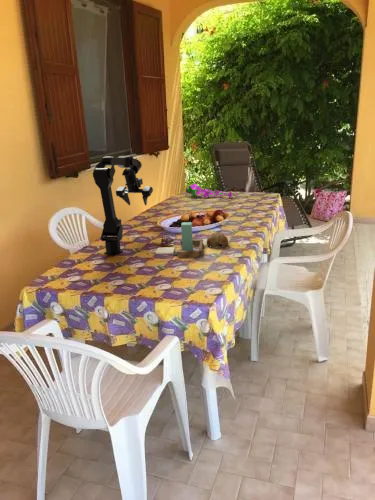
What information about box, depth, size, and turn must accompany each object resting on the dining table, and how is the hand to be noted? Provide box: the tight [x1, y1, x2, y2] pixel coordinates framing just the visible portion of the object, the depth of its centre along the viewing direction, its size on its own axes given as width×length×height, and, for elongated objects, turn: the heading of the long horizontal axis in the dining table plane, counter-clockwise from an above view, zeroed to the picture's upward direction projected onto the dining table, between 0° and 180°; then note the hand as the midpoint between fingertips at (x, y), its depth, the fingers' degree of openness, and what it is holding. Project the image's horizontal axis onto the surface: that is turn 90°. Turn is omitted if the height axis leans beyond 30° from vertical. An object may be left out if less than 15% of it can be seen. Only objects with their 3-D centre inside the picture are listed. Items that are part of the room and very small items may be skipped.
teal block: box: [180, 221, 194, 251], centre depth 197 cm, size 4×4×13 cm
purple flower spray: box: [185, 182, 233, 199], centre depth 311 cm, size 12×16×35 cm
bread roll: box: [206, 231, 229, 248], centre depth 204 cm, size 10×10×8 cm
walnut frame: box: [176, 239, 204, 258], centre depth 198 cm, size 11×17×2 cm, turn 176°
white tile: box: [155, 246, 176, 255], centre depth 200 cm, size 8×8×1 cm
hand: (137, 205), depth 226 cm, fingers open, 9 cm apart
